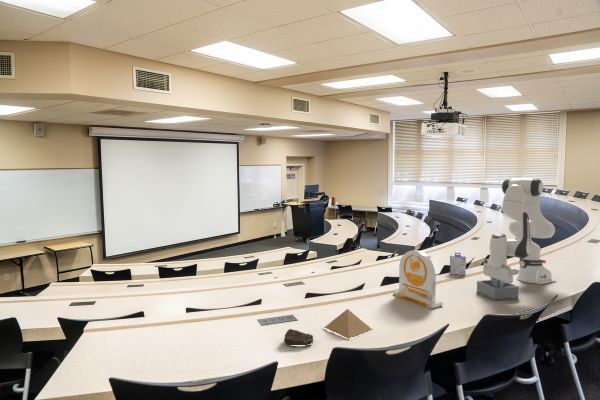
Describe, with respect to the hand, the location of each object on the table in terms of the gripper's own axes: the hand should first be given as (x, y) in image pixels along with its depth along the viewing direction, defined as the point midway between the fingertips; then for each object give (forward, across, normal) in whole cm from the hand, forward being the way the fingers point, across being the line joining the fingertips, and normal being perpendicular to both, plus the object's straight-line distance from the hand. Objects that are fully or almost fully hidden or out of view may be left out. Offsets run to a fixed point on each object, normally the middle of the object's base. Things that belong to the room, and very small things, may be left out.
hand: (497, 286), depth 223 cm
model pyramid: (+6, -27, +98) cm, 102 cm away
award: (+5, +3, +48) cm, 48 cm away
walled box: (+5, 0, 0) cm, 5 cm away
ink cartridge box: (+5, +48, -7) cm, 49 cm away
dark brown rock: (+5, -37, +122) cm, 128 cm away
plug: (+3, 0, 0) cm, 3 cm away
